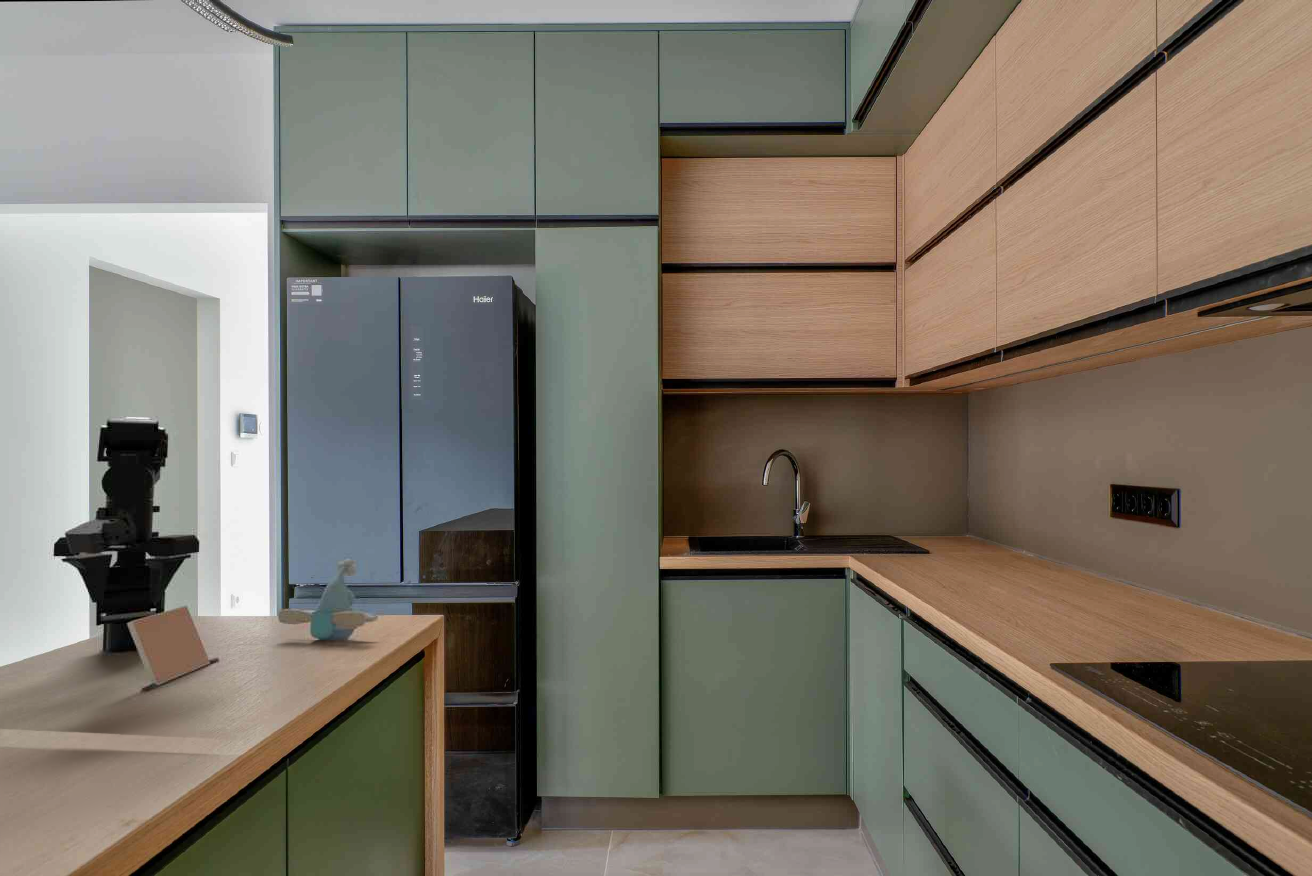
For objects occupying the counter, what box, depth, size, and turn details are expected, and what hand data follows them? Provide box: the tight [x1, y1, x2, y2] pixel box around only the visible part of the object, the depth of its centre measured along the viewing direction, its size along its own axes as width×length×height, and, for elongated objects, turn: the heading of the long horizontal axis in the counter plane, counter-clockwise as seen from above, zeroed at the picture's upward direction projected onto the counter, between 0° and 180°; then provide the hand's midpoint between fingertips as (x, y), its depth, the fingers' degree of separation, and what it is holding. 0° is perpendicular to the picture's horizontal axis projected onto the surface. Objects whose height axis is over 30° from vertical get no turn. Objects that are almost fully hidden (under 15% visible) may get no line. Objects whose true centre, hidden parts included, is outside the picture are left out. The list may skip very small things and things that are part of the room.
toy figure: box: [278, 558, 379, 642], centre depth 121 cm, size 17×10×15 cm, turn 84°
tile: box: [127, 605, 210, 686], centre depth 98 cm, size 10×10×1 cm
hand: (125, 602), depth 98 cm, fingers open, 9 cm apart
